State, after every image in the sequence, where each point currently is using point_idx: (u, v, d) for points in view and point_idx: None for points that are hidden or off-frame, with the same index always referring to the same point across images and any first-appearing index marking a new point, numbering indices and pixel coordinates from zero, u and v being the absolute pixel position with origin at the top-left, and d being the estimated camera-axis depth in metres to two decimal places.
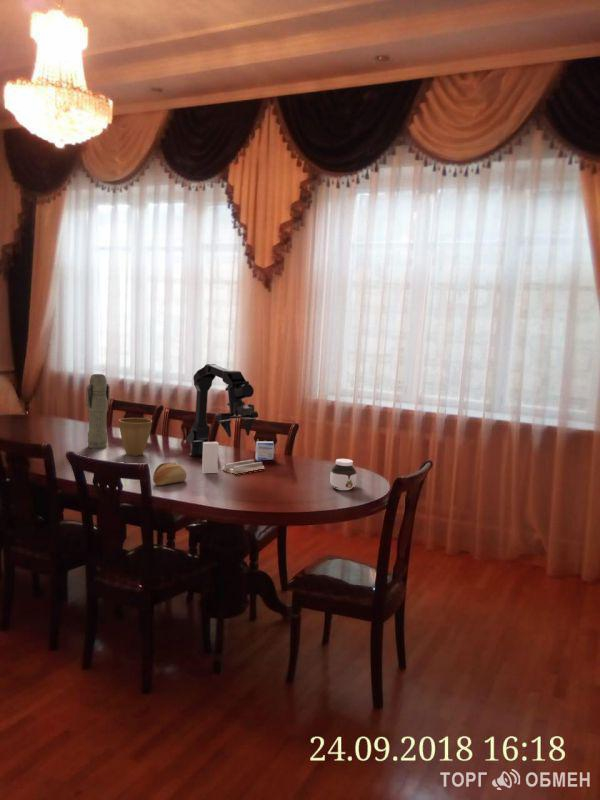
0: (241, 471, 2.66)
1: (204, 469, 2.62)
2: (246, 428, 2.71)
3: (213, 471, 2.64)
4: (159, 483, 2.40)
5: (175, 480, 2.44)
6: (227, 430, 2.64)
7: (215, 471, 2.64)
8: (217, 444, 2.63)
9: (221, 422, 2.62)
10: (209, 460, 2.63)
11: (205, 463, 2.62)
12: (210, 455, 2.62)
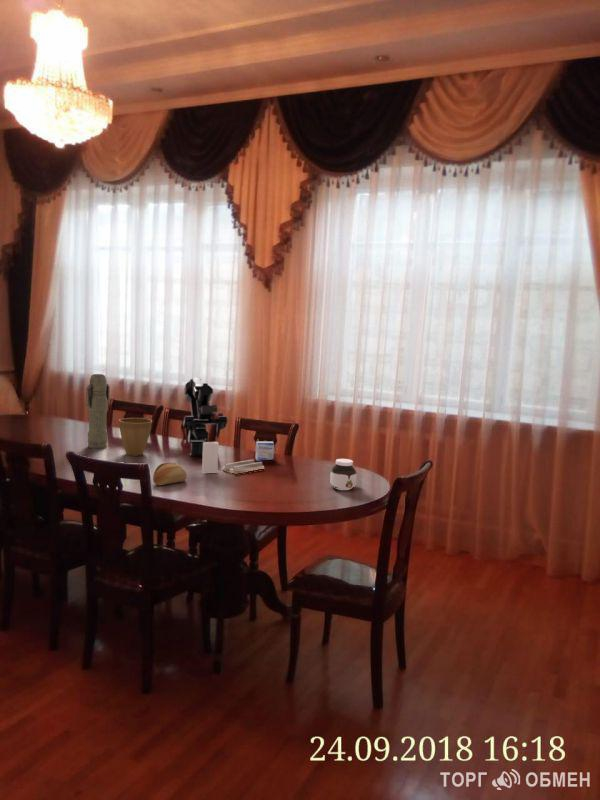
0: (241, 471, 2.66)
1: (204, 469, 2.62)
2: (217, 432, 2.74)
3: (213, 471, 2.64)
4: (159, 483, 2.40)
5: (175, 480, 2.44)
6: (193, 432, 2.70)
7: (215, 471, 2.64)
8: (217, 444, 2.63)
9: (187, 425, 2.71)
10: (209, 460, 2.63)
11: (205, 463, 2.62)
12: (210, 455, 2.62)
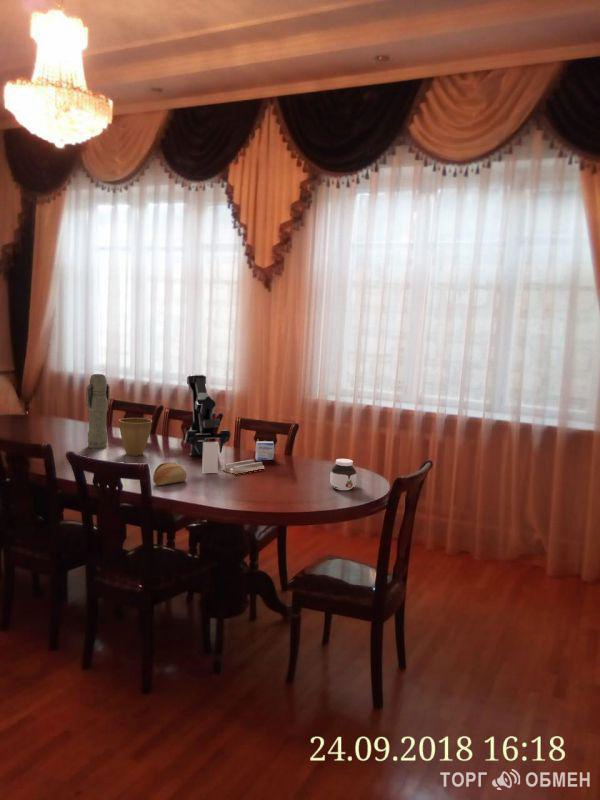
0: (241, 471, 2.66)
1: (204, 469, 2.62)
2: (219, 446, 2.68)
3: (213, 471, 2.64)
4: (159, 483, 2.40)
5: (175, 480, 2.44)
6: (196, 447, 2.64)
7: (215, 471, 2.64)
8: (217, 444, 2.63)
9: (189, 440, 2.65)
10: (209, 460, 2.63)
11: (205, 463, 2.62)
12: (210, 455, 2.62)
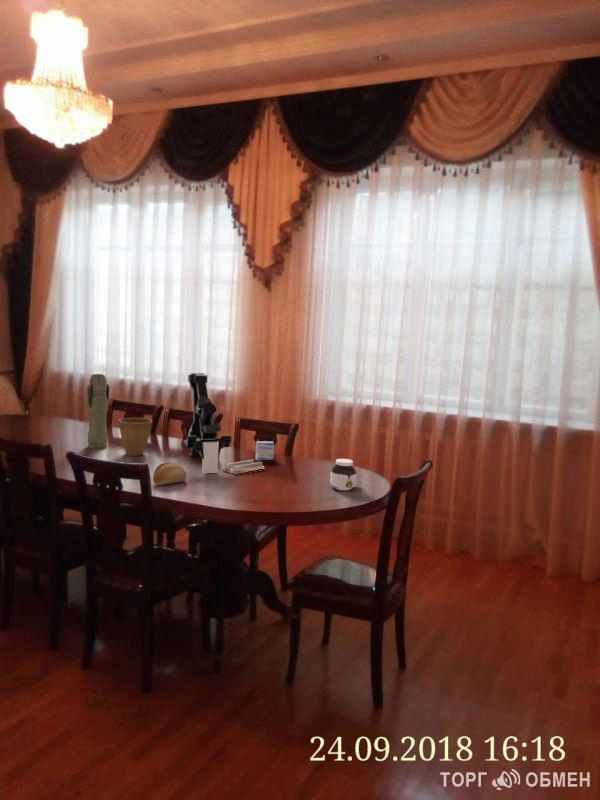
0: (241, 471, 2.66)
1: (204, 469, 2.62)
2: None
3: (213, 471, 2.64)
4: (159, 483, 2.40)
5: (175, 480, 2.43)
6: (200, 452, 2.63)
7: (215, 471, 2.64)
8: (217, 444, 2.63)
9: (193, 445, 2.64)
10: (209, 460, 2.63)
11: (205, 463, 2.62)
12: (210, 455, 2.62)
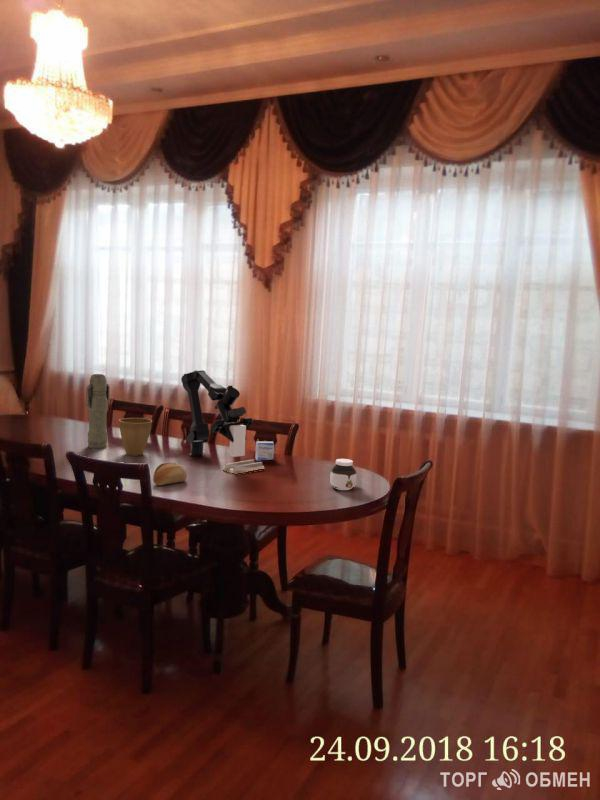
0: (241, 471, 2.66)
1: (233, 452, 2.66)
2: None
3: (241, 453, 2.69)
4: (159, 483, 2.39)
5: (175, 480, 2.43)
6: (228, 435, 2.66)
7: (243, 453, 2.69)
8: (245, 427, 2.68)
9: (220, 429, 2.66)
10: (238, 443, 2.67)
11: (234, 446, 2.66)
12: (238, 438, 2.67)
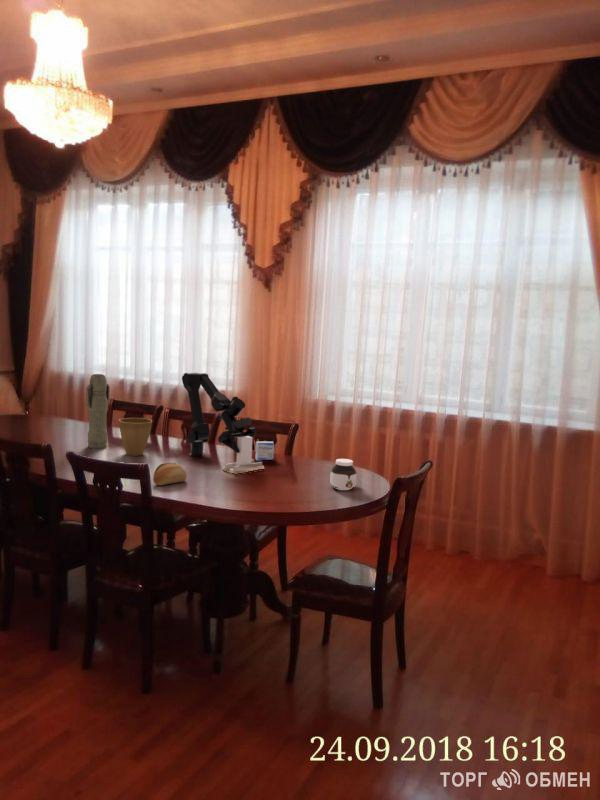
0: (241, 471, 2.66)
1: (241, 463, 2.69)
2: None
3: None
4: (159, 483, 2.39)
5: (175, 480, 2.43)
6: (234, 446, 2.68)
7: None
8: (251, 438, 2.72)
9: (226, 441, 2.67)
10: (245, 454, 2.70)
11: (242, 457, 2.69)
12: (246, 450, 2.70)
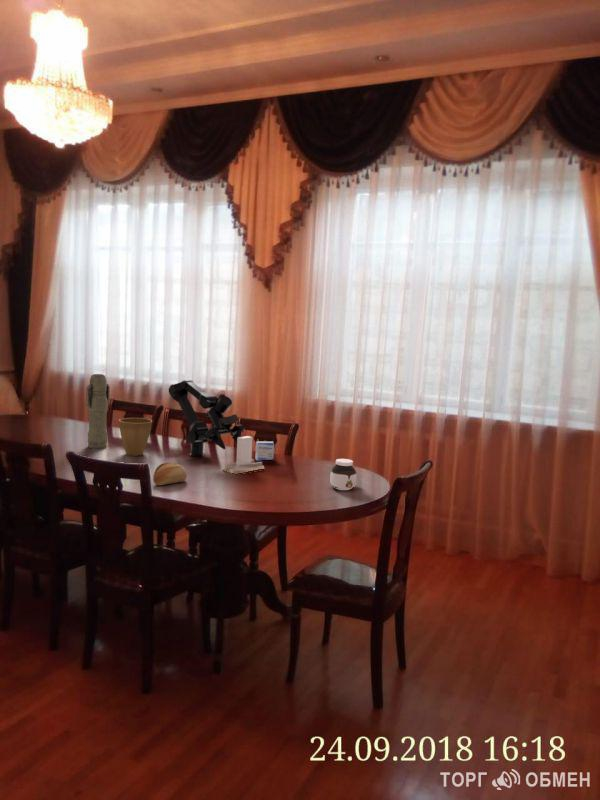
0: (241, 471, 2.66)
1: (241, 463, 2.69)
2: None
3: None
4: (159, 483, 2.39)
5: (175, 480, 2.43)
6: (220, 443, 2.74)
7: None
8: (251, 438, 2.72)
9: (212, 437, 2.74)
10: (245, 454, 2.70)
11: (242, 457, 2.69)
12: (246, 450, 2.70)
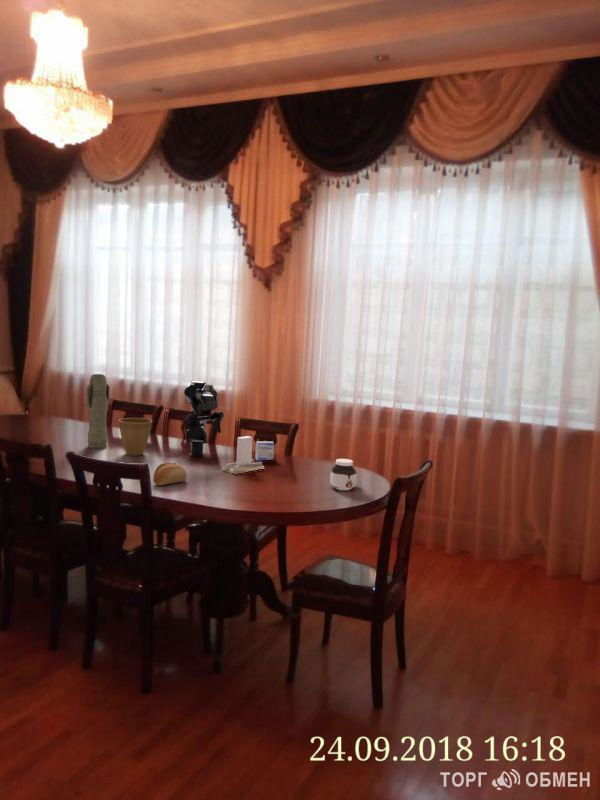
0: (241, 471, 2.66)
1: (241, 463, 2.69)
2: (216, 427, 2.84)
3: None
4: (159, 483, 2.39)
5: (175, 480, 2.43)
6: (199, 429, 2.76)
7: None
8: (251, 438, 2.72)
9: (191, 423, 2.76)
10: (245, 454, 2.70)
11: (242, 457, 2.69)
12: (246, 450, 2.70)
